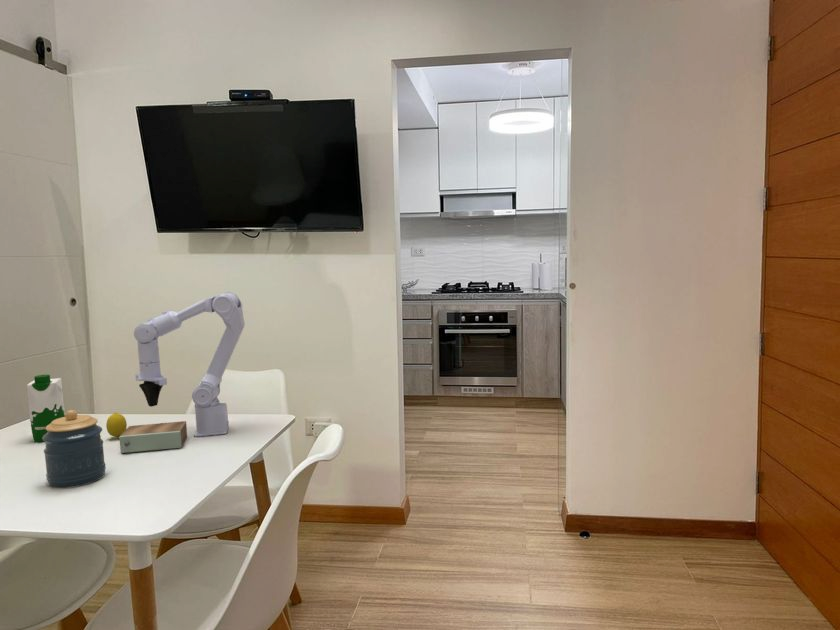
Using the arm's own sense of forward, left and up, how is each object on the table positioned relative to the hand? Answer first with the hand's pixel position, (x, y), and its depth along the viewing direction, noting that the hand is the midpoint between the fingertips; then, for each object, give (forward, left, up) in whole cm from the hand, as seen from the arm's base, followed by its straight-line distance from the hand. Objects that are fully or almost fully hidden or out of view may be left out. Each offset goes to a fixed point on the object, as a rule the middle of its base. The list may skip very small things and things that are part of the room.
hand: (153, 405), depth 185 cm
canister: (+12, +33, -10) cm, 36 cm away
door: (-2, +16, -9) cm, 19 cm away
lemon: (+11, -1, -10) cm, 15 cm away
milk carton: (+32, -8, -10) cm, 34 cm away
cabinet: (-2, +10, -9) cm, 14 cm away
